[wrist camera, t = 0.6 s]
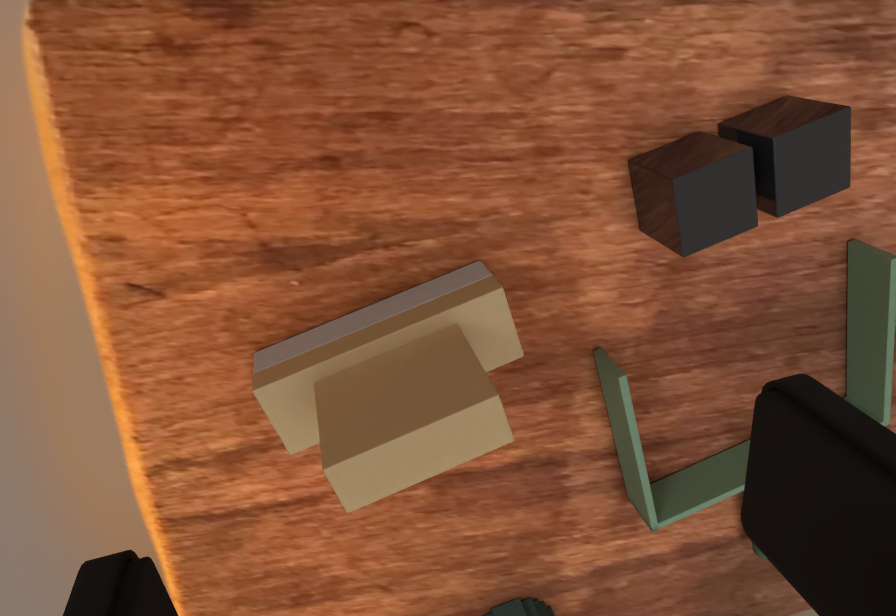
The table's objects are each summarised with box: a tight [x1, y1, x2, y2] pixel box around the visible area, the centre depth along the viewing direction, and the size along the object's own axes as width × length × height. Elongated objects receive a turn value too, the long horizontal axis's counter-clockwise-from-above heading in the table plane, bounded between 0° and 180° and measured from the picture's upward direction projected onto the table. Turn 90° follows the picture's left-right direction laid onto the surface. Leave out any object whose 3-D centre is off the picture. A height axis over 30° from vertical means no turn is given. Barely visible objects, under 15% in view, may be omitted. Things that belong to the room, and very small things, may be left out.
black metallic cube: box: [718, 96, 851, 217], centre depth 31 cm, size 4×4×4 cm
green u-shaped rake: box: [593, 239, 896, 559], centre depth 40 cm, size 22×17×3 cm
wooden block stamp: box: [252, 260, 524, 513], centre depth 28 cm, size 4×12×10 cm, turn 108°
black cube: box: [628, 131, 758, 257], centre depth 30 cm, size 4×4×4 cm
